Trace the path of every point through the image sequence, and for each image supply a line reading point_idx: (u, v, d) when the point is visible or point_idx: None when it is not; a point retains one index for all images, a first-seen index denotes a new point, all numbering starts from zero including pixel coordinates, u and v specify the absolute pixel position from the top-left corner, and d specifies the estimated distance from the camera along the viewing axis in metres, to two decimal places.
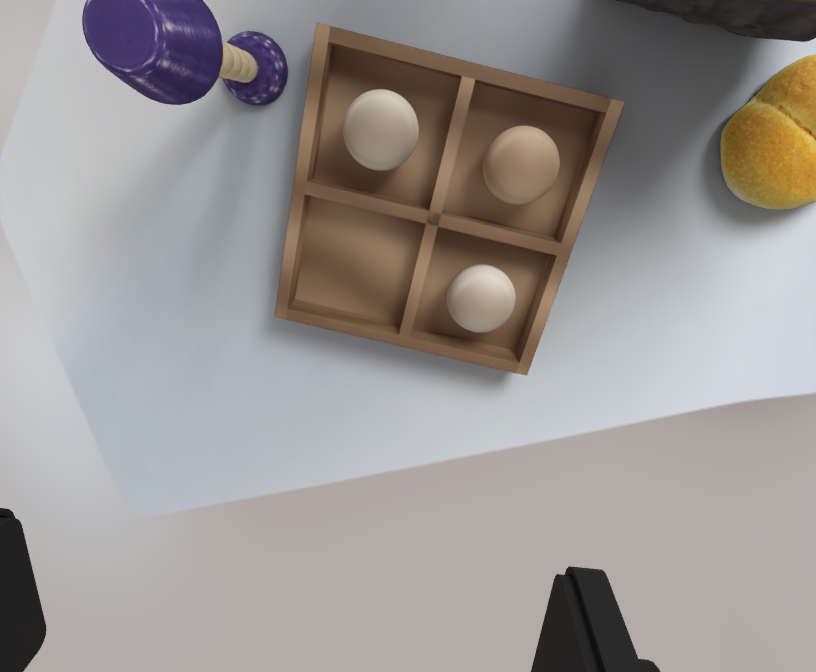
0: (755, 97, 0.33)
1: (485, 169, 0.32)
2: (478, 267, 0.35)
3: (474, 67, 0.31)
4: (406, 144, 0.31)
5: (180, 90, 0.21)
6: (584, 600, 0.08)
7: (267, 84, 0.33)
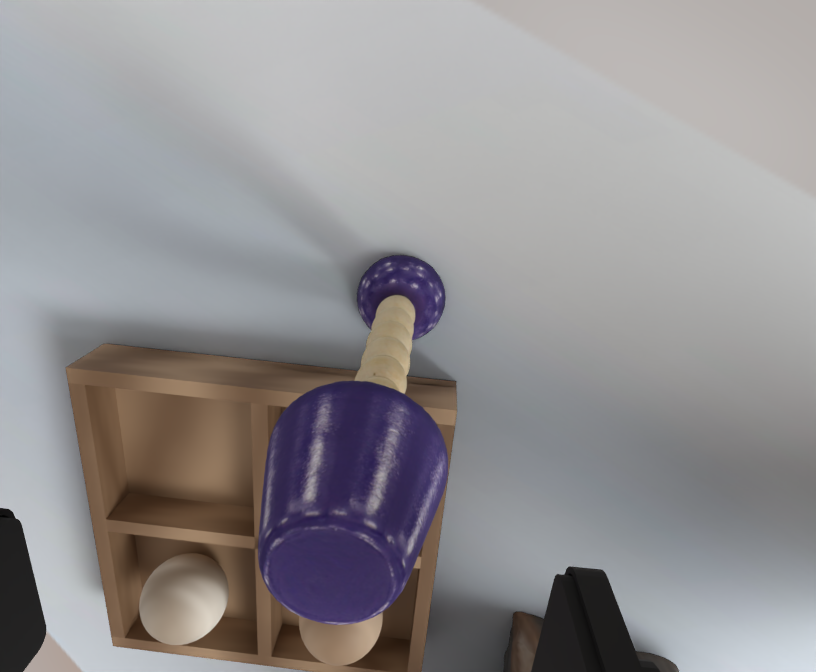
0: None
1: None
2: (219, 596, 0.29)
3: (431, 567, 0.28)
4: None
5: None
6: (584, 600, 0.08)
7: None
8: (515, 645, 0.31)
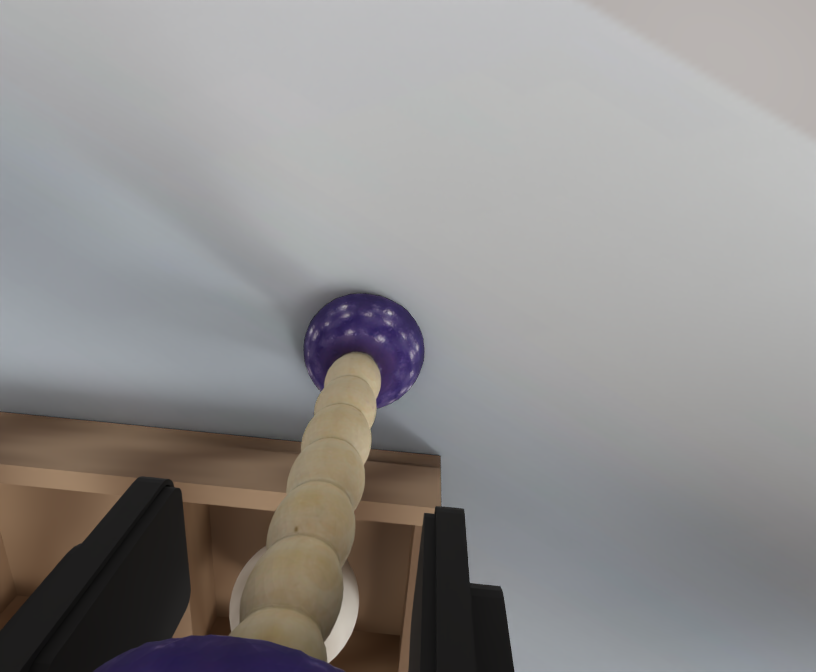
0: None
1: None
2: None
3: None
4: None
5: None
6: (436, 531, 0.09)
7: None
8: None
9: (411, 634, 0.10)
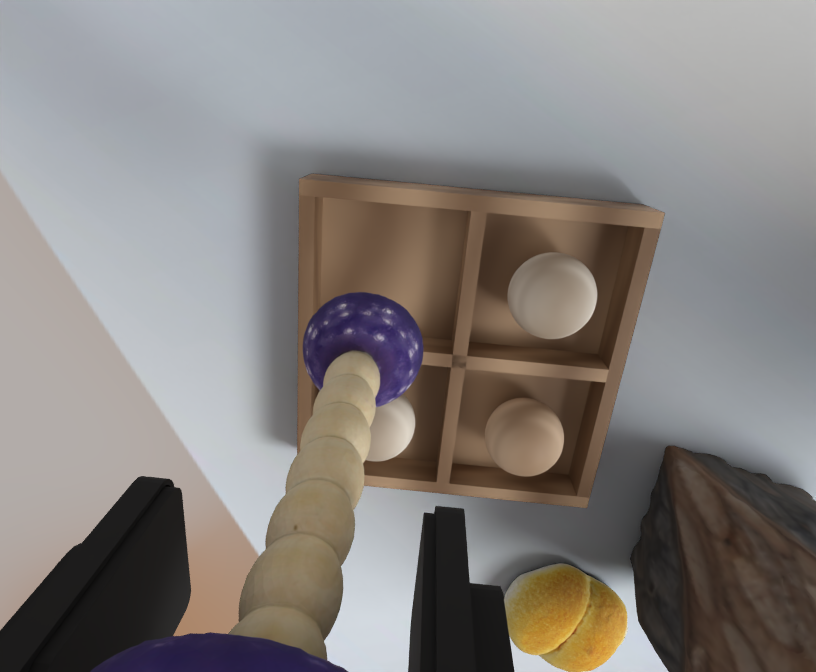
0: (591, 579, 0.39)
1: (520, 409, 0.30)
2: (413, 416, 0.31)
3: (617, 380, 0.30)
4: (543, 336, 0.27)
5: None
6: (436, 531, 0.09)
7: None
8: (675, 469, 0.33)
9: (411, 634, 0.10)
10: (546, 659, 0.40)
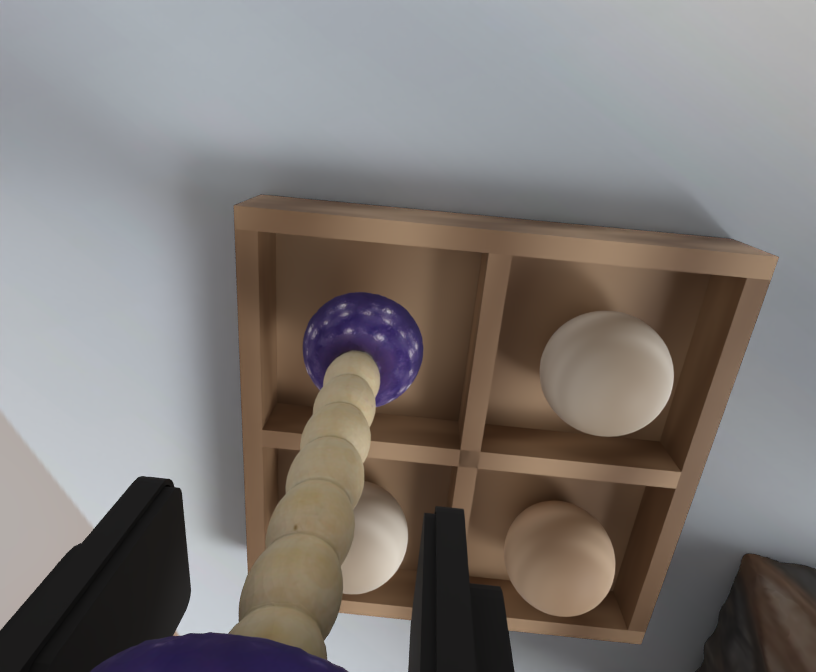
0: None
1: (554, 526, 0.21)
2: (404, 531, 0.22)
3: (692, 485, 0.21)
4: (594, 434, 0.19)
5: None
6: (436, 531, 0.09)
7: None
8: (761, 592, 0.24)
9: (411, 634, 0.10)
10: None
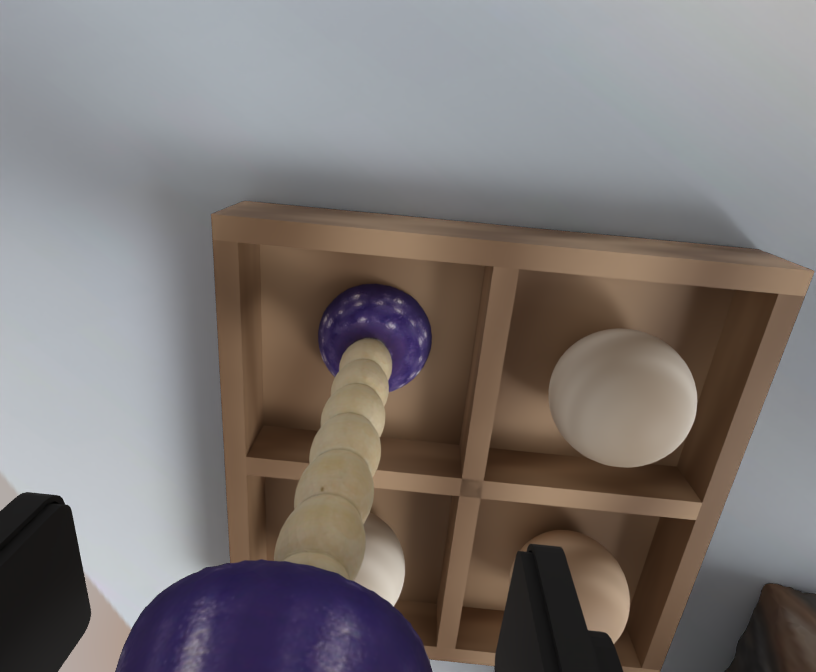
0: None
1: None
2: (401, 565, 0.20)
3: (713, 517, 0.19)
4: (609, 465, 0.17)
5: None
6: (540, 574, 0.08)
7: None
8: (784, 626, 0.23)
9: None
10: None
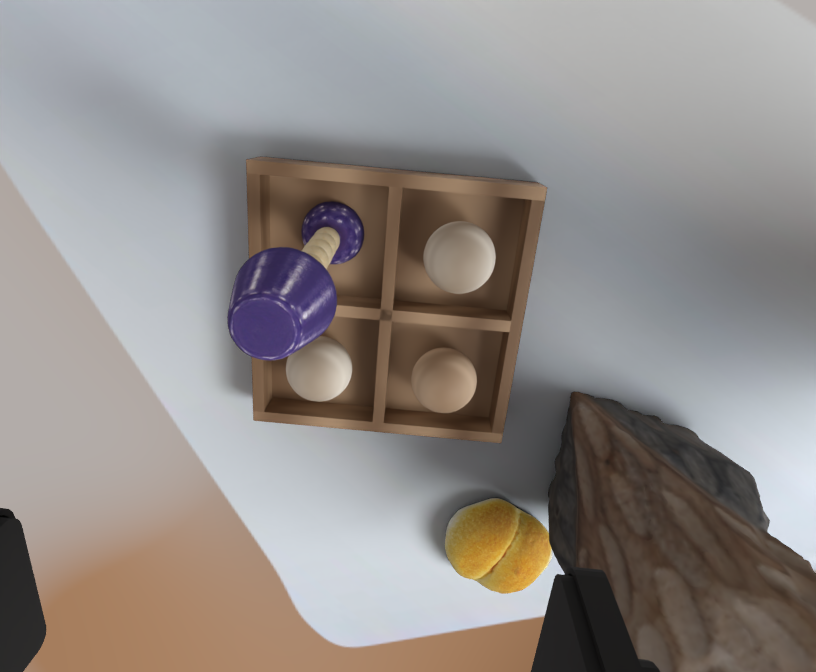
0: (521, 511, 0.44)
1: (438, 355, 0.36)
2: (349, 363, 0.36)
3: (518, 330, 0.36)
4: (451, 290, 0.33)
5: None
6: (584, 600, 0.08)
7: None
8: (575, 409, 0.39)
9: None
10: (482, 583, 0.46)
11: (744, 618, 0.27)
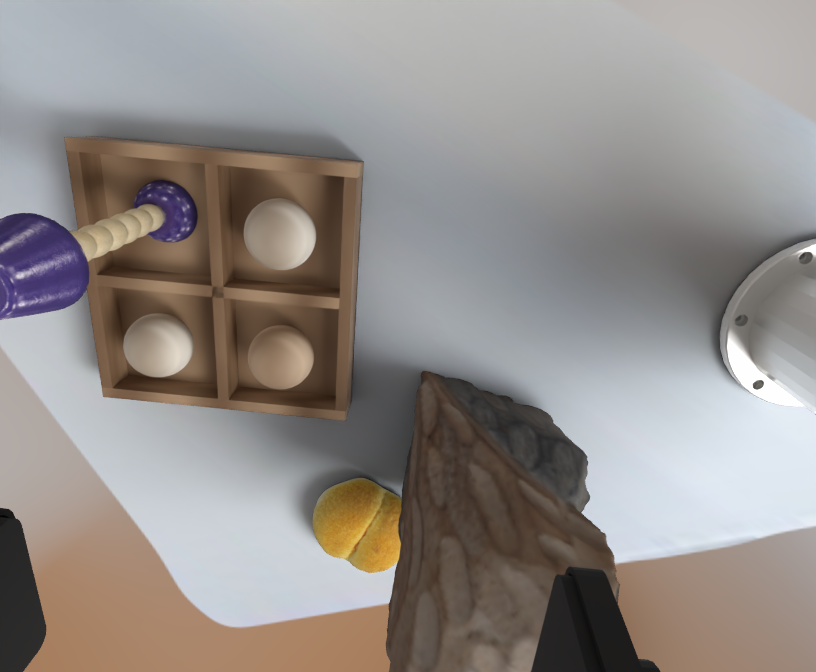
0: (386, 491, 0.45)
1: (269, 332, 0.36)
2: (185, 339, 0.37)
3: (347, 307, 0.36)
4: (269, 266, 0.34)
5: None
6: (584, 600, 0.08)
7: (149, 233, 0.36)
8: (419, 388, 0.40)
9: None
10: (351, 562, 0.46)
11: (508, 584, 0.27)
